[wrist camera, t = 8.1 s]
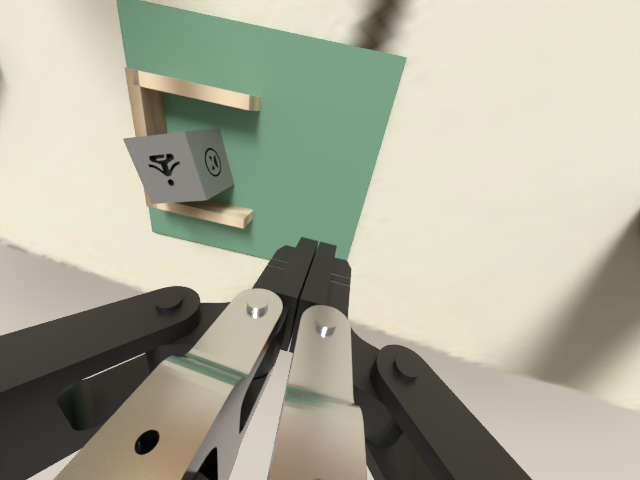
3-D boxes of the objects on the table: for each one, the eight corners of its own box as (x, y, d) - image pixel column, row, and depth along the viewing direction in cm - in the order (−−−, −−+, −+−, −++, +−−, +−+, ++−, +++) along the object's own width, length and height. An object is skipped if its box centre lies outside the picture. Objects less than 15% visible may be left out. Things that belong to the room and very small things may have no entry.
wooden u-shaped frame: (261, 97, 20) (249, 95, 18) (253, 218, 25) (243, 228, 23) (150, 72, 20) (124, 67, 18) (165, 198, 25) (146, 206, 23)
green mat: (405, 58, 18) (406, 57, 17) (342, 274, 27) (342, 276, 27) (119, -4, 18) (115, -5, 18) (154, 230, 28) (152, 231, 27)
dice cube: (219, 128, 21) (184, 131, 17) (234, 184, 23) (206, 200, 19) (169, 134, 22) (123, 138, 18) (188, 188, 24) (151, 204, 20)
